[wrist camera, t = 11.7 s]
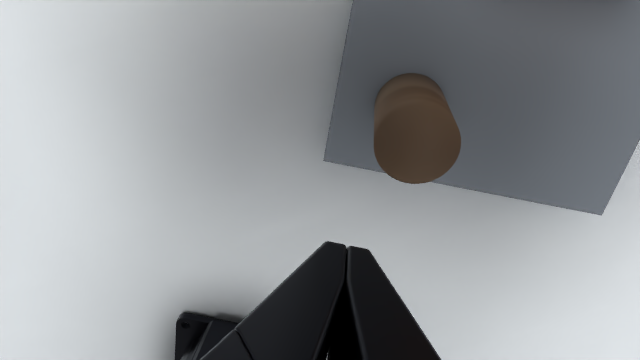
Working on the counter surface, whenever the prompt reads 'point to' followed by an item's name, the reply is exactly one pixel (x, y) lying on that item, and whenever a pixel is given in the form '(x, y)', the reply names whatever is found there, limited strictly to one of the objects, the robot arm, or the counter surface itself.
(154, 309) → the counter surface
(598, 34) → the board
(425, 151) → the walnut post
